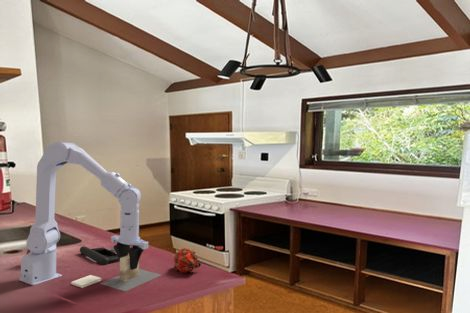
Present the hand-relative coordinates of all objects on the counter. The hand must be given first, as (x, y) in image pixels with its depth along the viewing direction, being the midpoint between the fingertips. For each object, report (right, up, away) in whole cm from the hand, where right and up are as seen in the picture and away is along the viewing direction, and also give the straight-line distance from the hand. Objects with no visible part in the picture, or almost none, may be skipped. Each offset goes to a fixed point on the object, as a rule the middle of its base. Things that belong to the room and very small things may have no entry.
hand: (128, 267), depth 114 cm
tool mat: (+1, -4, -1) cm, 4 cm away
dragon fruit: (+17, -4, +9) cm, 20 cm away
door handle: (-15, -3, +23) cm, 28 cm away
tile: (-12, -3, -4) cm, 13 cm away
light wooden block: (0, -3, 0) cm, 3 cm away
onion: (-36, -3, +11) cm, 38 cm away
